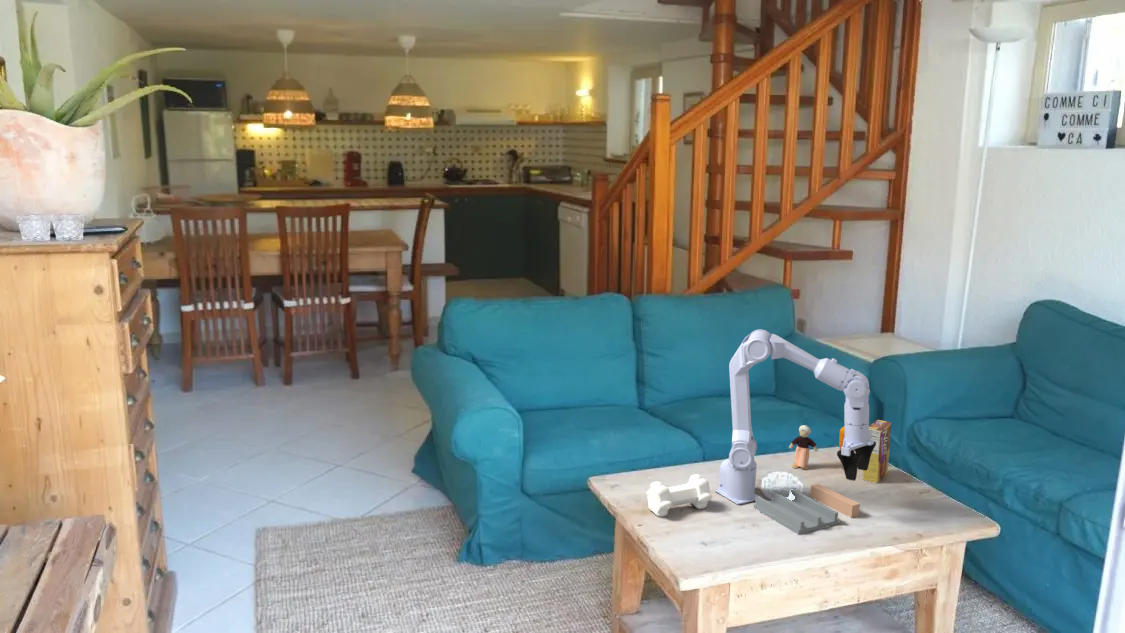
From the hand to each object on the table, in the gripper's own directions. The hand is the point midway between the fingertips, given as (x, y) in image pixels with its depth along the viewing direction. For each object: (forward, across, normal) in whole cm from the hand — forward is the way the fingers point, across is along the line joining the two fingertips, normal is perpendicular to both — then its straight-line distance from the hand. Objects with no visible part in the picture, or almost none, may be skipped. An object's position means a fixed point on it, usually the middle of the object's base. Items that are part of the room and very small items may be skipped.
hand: (856, 474), depth 212 cm
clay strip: (+10, 0, +6) cm, 12 cm away
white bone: (+7, -28, +35) cm, 45 cm away
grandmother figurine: (+9, +19, +23) cm, 31 cm away
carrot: (+10, +29, +15) cm, 34 cm away
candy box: (+11, +26, +5) cm, 29 cm away
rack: (+9, -12, +11) cm, 18 cm away
